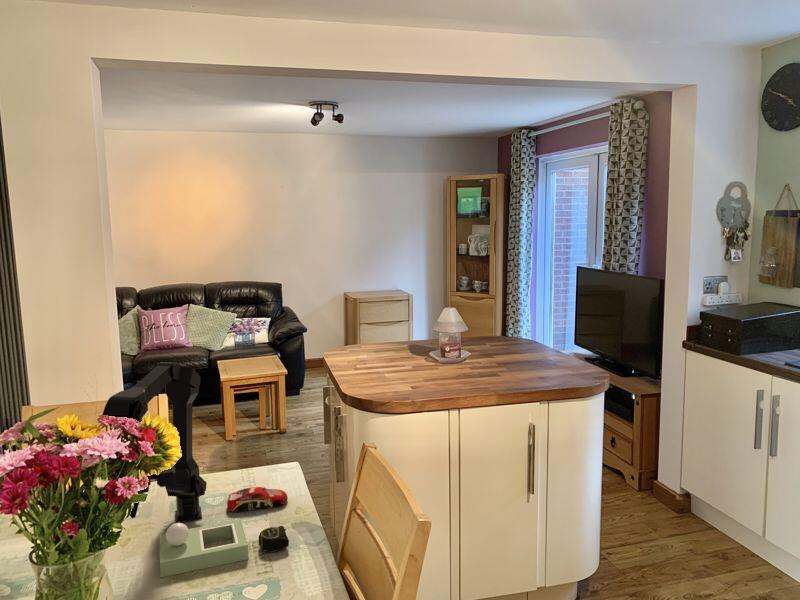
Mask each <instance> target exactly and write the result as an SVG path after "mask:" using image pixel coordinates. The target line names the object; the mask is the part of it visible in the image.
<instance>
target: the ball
mask: <svg viewBox="0 0 800 600" xmlns="http://www.w3.org/2000/svg"><path fill="white" fill-rule="evenodd" d="M188 529H189V528H188V526H187V525H186V524H185V523H182V522H178V523H172V524H171V525H170V526H169V527H168V528H167V531H166V532H165V533H166V539H167V541H168V543H169V544H171V545H173V546H179V545H182V544H183V543H185V542H186V540H187V539H188V536H189V530H188Z"/></svg>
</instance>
